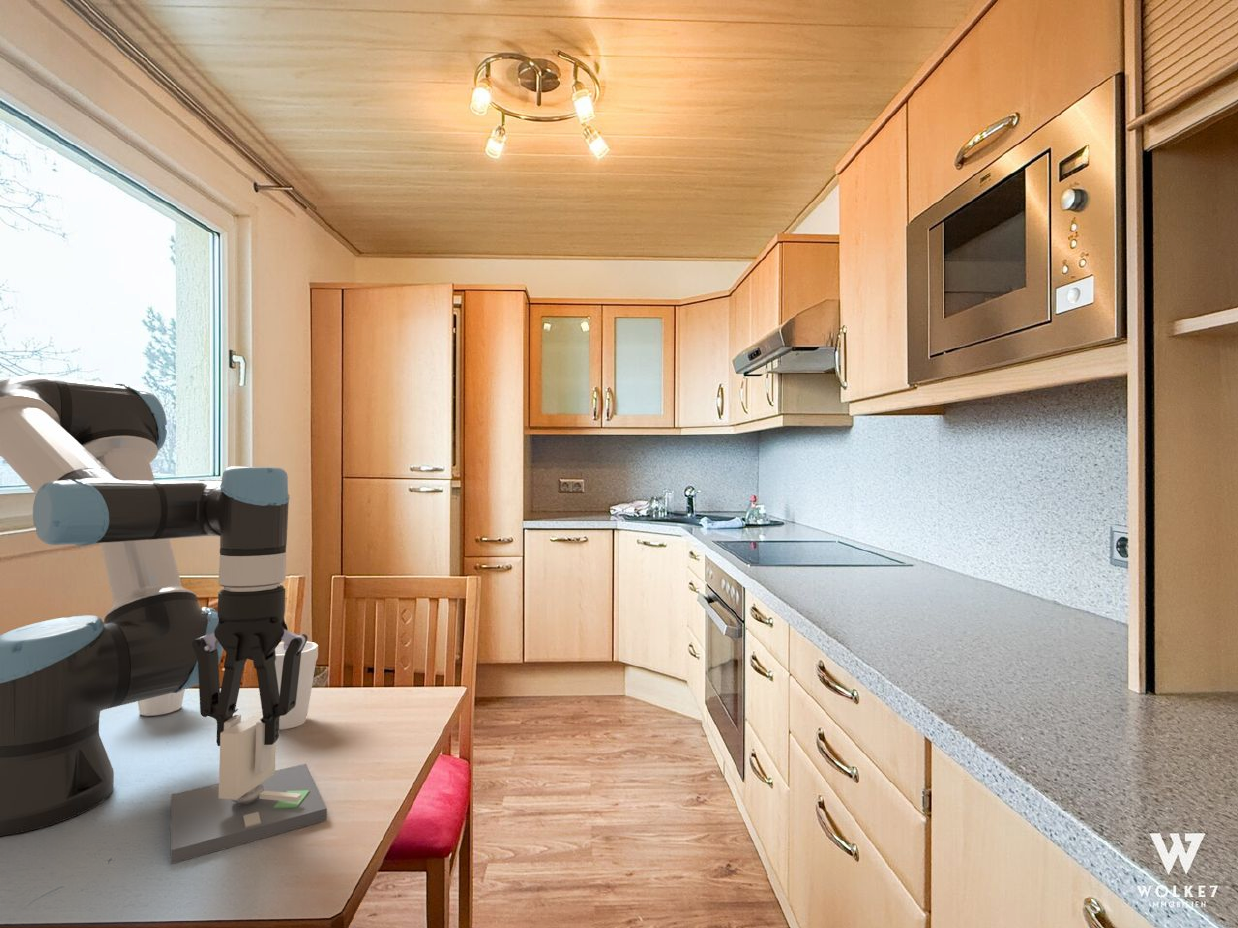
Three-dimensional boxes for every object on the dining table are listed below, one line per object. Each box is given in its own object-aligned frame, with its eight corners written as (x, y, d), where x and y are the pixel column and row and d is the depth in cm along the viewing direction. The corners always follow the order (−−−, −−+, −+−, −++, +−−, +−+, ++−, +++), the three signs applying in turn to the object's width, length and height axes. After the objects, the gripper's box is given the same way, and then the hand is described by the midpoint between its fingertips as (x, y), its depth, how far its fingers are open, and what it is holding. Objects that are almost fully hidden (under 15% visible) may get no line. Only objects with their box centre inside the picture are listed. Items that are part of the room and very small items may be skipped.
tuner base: (170, 863, 70) (171, 848, 70) (170, 805, 83) (171, 792, 83) (326, 820, 80) (326, 806, 80) (305, 773, 92) (306, 762, 92)
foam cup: (290, 735, 105) (292, 657, 105) (242, 730, 107) (244, 653, 107) (327, 714, 114) (329, 642, 115) (282, 710, 116) (284, 639, 117)
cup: (168, 722, 110) (170, 647, 110) (111, 721, 110) (113, 646, 110) (206, 702, 120) (208, 633, 120) (154, 701, 120) (156, 632, 120)
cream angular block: (280, 820, 77) (282, 737, 77) (213, 814, 78) (216, 732, 78) (315, 792, 84) (317, 716, 84) (254, 786, 85) (256, 711, 85)
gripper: (328, 581, 86) (323, 755, 85) (202, 581, 85) (197, 758, 84) (306, 590, 79) (301, 781, 78) (168, 591, 77) (161, 785, 76)
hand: (247, 769), depth 81 cm, fingers closed on cream angular block, 3 cm apart
